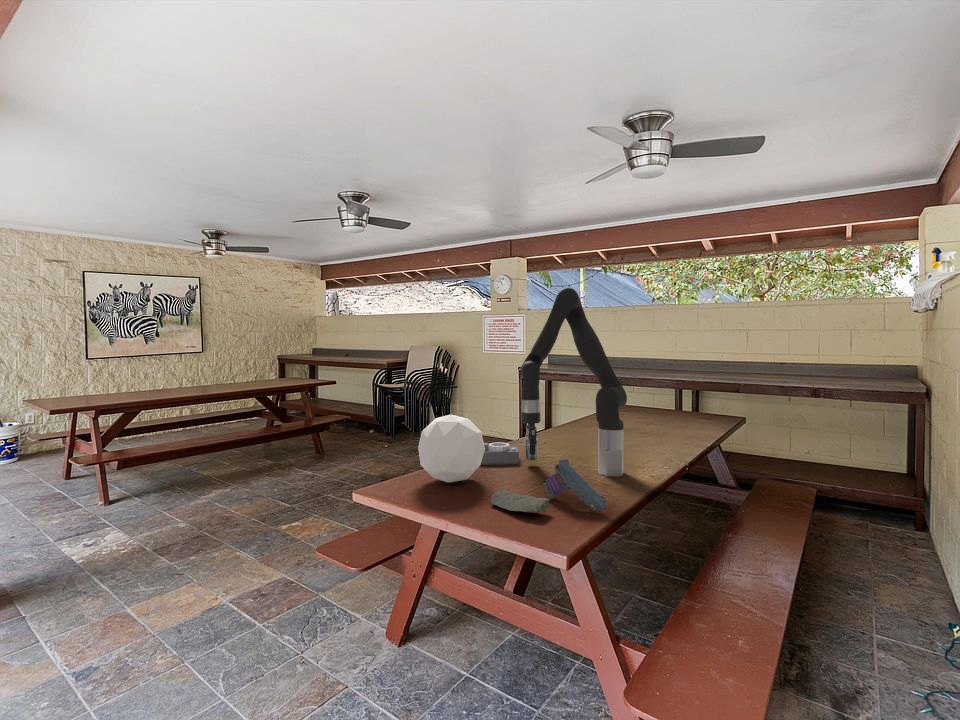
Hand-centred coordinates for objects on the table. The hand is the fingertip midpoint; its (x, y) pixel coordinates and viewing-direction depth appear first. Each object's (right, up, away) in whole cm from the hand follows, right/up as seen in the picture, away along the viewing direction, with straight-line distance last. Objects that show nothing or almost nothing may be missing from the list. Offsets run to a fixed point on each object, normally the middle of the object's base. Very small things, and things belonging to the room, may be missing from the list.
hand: (531, 452), depth 200 cm
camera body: (-13, -6, +8) cm, 17 cm away
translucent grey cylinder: (0, -2, 0) cm, 2 cm away
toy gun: (+6, -11, -41) cm, 43 cm away
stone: (-12, -9, -50) cm, 52 cm away
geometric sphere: (-31, -8, -18) cm, 37 cm away
